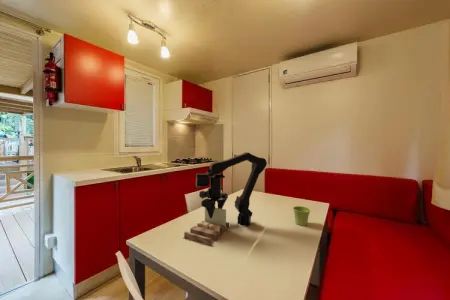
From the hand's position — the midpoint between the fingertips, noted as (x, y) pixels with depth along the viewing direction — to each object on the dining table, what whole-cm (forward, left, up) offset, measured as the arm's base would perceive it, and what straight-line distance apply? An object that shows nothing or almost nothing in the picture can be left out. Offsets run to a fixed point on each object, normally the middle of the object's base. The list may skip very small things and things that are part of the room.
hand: (215, 215), depth 99 cm
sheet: (0, 0, -6) cm, 6 cm away
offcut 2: (-3, +7, -6) cm, 10 cm away
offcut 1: (+3, +7, -6) cm, 10 cm away
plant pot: (-40, -28, -7) cm, 50 cm away
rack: (0, +7, -7) cm, 10 cm away
